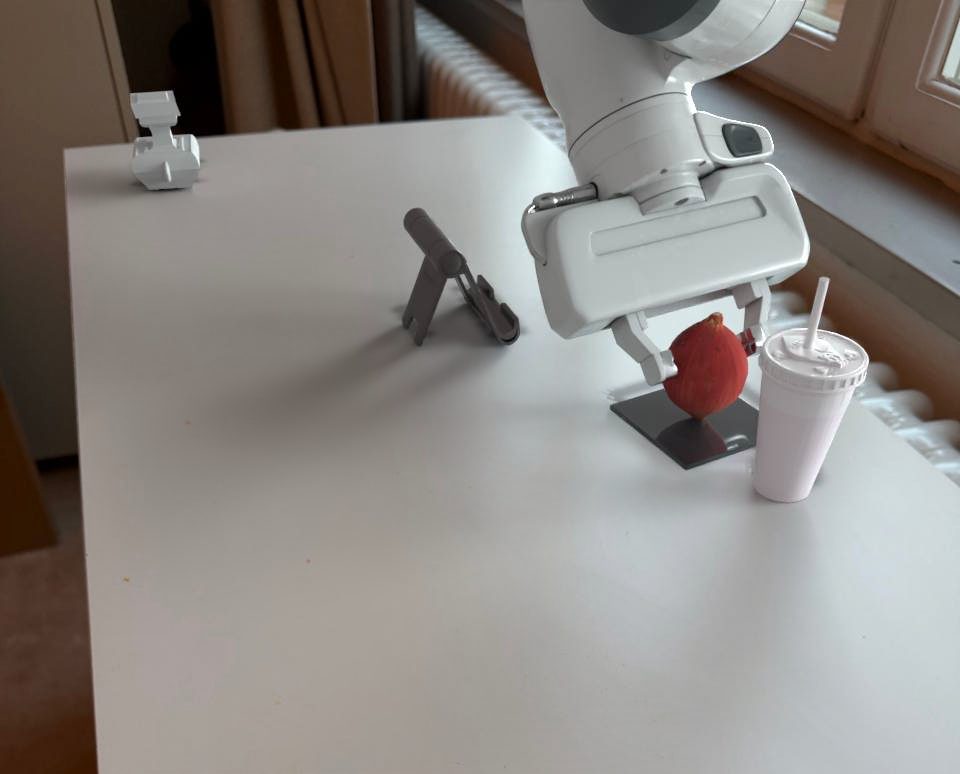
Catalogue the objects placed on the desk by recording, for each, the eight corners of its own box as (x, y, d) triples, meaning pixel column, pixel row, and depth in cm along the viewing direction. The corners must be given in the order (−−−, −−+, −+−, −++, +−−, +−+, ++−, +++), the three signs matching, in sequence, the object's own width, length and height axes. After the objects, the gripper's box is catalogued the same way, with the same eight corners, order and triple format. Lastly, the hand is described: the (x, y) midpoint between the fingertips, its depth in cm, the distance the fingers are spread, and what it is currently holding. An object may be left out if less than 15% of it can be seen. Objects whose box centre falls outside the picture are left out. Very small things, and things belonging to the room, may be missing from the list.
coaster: (706, 379, 78) (707, 374, 78) (787, 435, 73) (788, 430, 72) (609, 409, 75) (609, 404, 75) (686, 470, 69) (687, 465, 69)
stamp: (205, 197, 104) (190, 107, 98) (137, 202, 103) (118, 112, 97) (202, 166, 111) (187, 80, 105) (138, 171, 109) (120, 84, 104)
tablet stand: (520, 345, 82) (524, 241, 76) (426, 361, 80) (423, 255, 74) (482, 298, 88) (483, 198, 82) (394, 312, 86) (388, 211, 80)
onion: (647, 430, 72) (661, 324, 67) (665, 390, 76) (679, 287, 71) (730, 446, 71) (751, 338, 65) (744, 404, 75) (765, 300, 69)
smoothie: (770, 448, 72) (817, 249, 62) (850, 488, 68) (913, 284, 58) (712, 484, 68) (752, 280, 59) (793, 527, 65) (850, 319, 55)
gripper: (532, 175, 63) (608, 389, 64) (787, 124, 70) (853, 317, 71) (494, 223, 69) (564, 419, 70) (733, 172, 76) (794, 349, 77)
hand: (712, 367), depth 70 cm, fingers open, 7 cm apart
